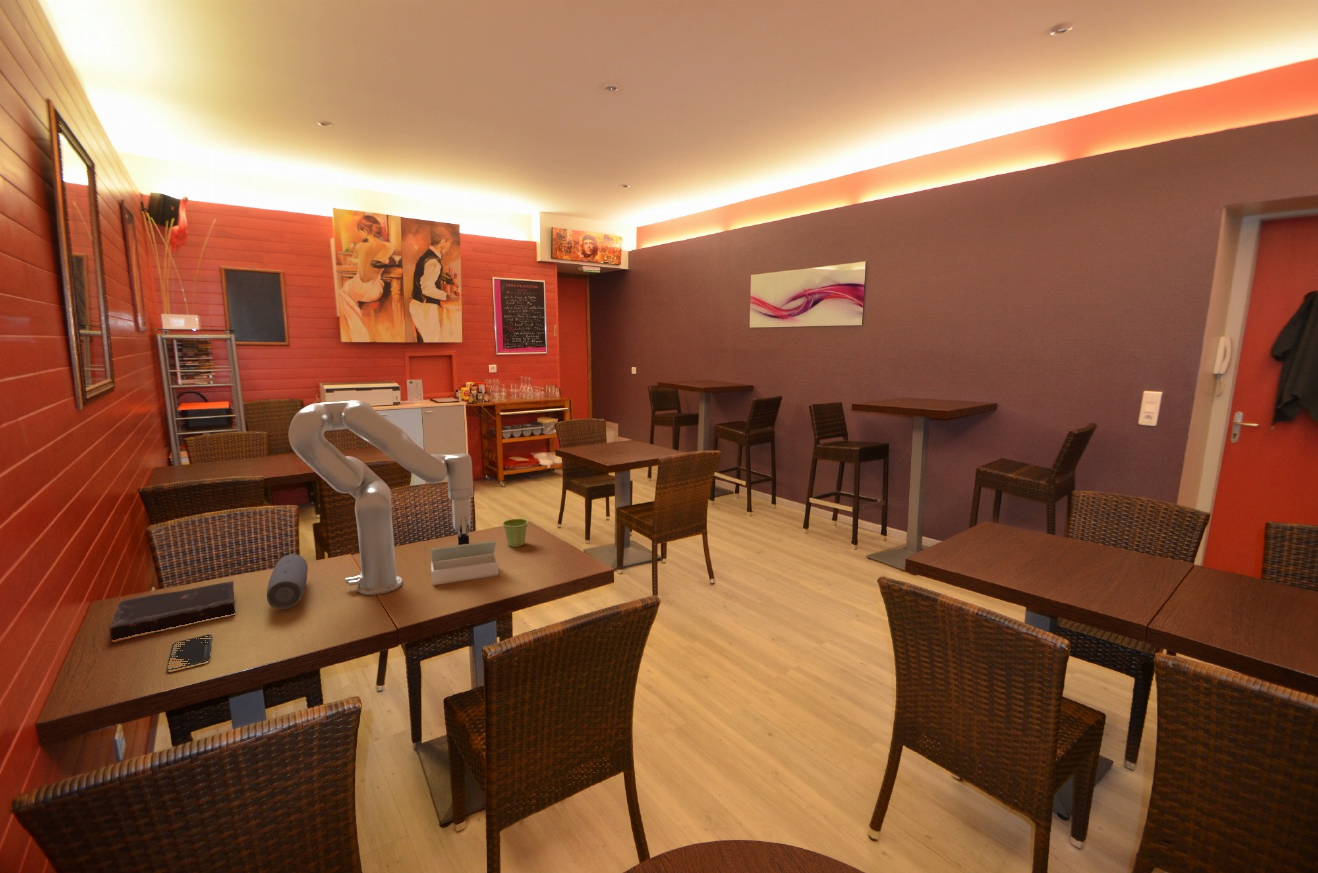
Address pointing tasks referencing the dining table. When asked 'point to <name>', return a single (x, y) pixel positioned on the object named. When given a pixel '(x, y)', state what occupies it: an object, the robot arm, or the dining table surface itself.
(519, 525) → the plant pot
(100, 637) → the dining table surface
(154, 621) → the diary
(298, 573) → the bluetooth speaker
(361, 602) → the dining table surface
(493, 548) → the cover
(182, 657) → the phone
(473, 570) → the white hinged box
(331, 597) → the dining table surface
